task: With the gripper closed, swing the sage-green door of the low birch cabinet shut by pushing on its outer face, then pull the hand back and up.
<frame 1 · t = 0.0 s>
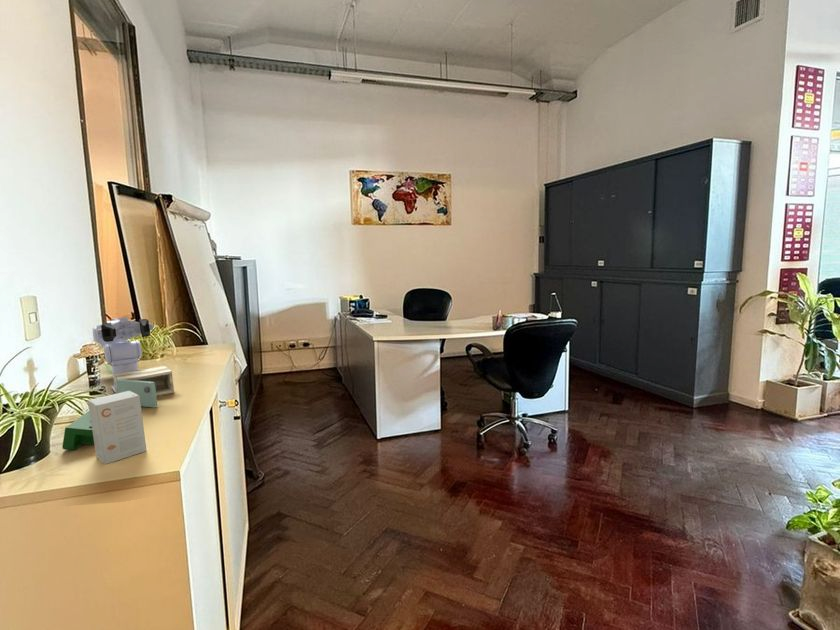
hand: (130, 330, 131), 22 cm above the table, tool horizontal, fingers open, 7 cm apart
cabinet: (145, 394, 141), on the table
small box: (121, 455, 97), on the table
door: (135, 393, 129), point 4 cm above the table, hinge at -60.0°
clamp: (92, 442, 105), on the table
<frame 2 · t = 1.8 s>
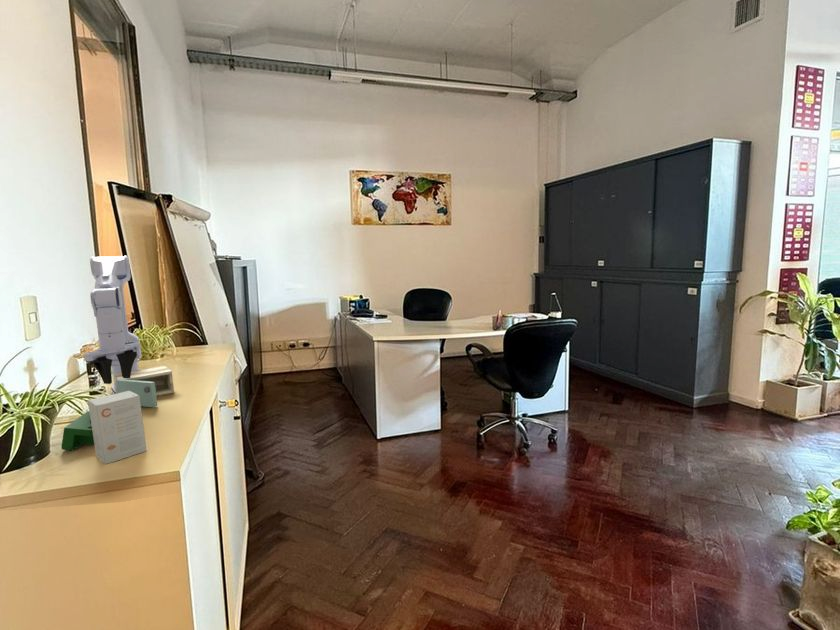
hand: (117, 380, 122), 9 cm above the table, tool pointing down, fingers open, 5 cm apart
nothing on the table moved.
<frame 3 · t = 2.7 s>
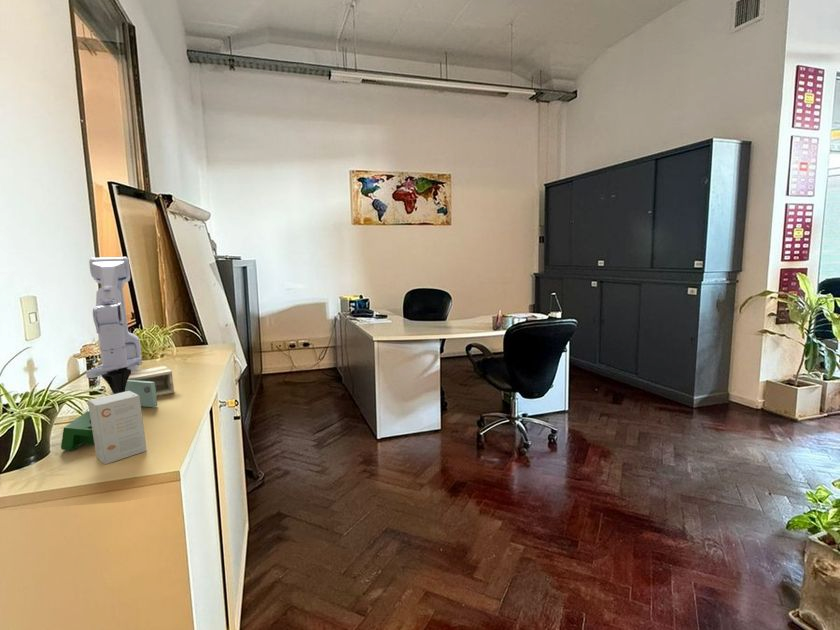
hand: (119, 396, 123), 5 cm above the table, tool pointing down, fingers closed
nothing on the table moved.
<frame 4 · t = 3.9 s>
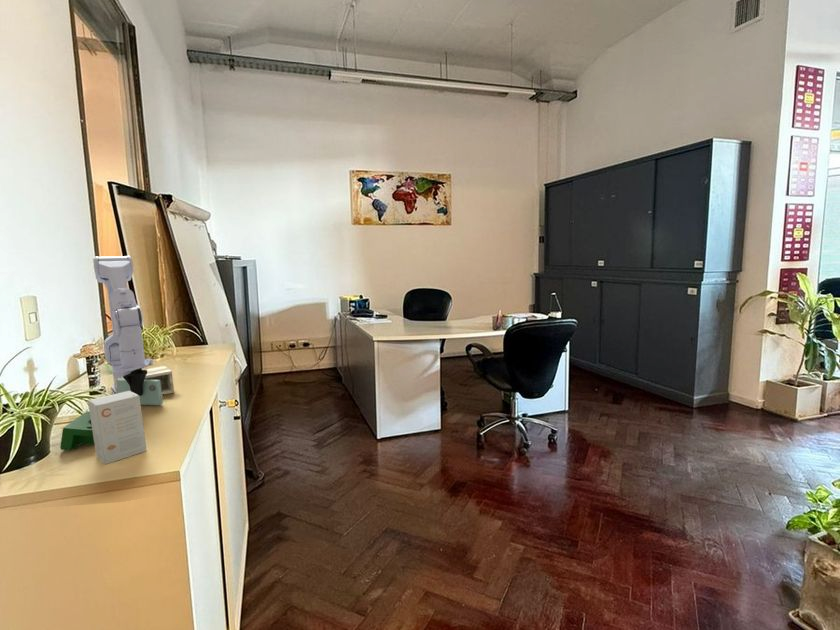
hand: (137, 395, 128), 3 cm above the table, tool pointing down, fingers closed
door: (138, 392, 130), point 4 cm above the table, hinge at -51.9°, touching gripper
everything else where it was.
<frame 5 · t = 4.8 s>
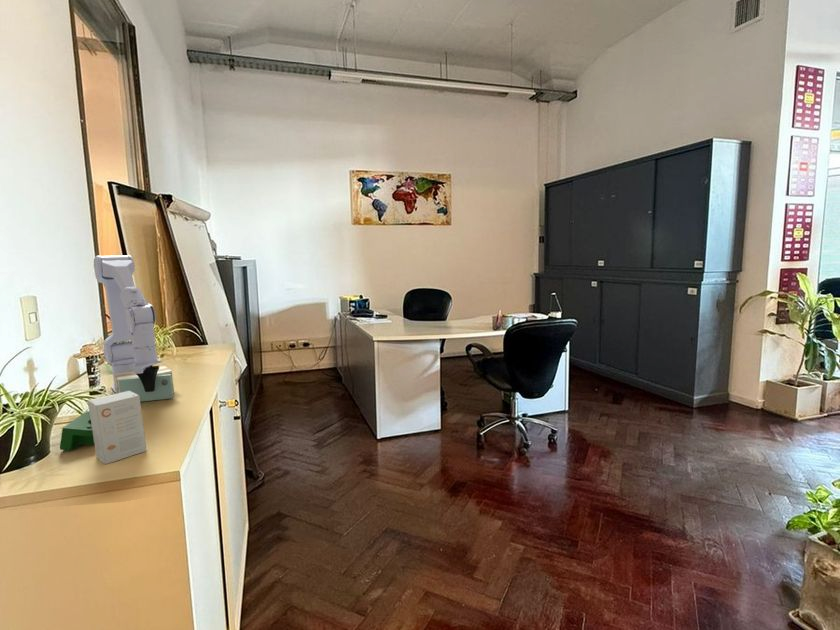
hand: (150, 391, 132), 3 cm above the table, tool pointing down, fingers closed
door: (146, 388, 133), point 4 cm above the table, hinge at -26.0°, touching gripper
everything else where it was.
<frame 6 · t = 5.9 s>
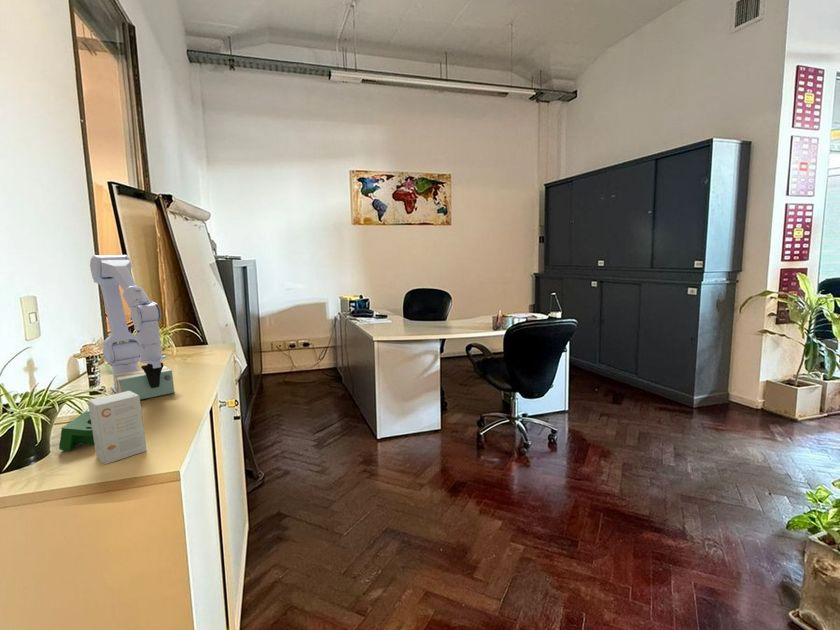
hand: (154, 387, 136), 3 cm above the table, tool pointing down, fingers closed
door: (148, 386, 136), point 4 cm above the table, hinge at 1.0°, touching gripper
everything else where it was.
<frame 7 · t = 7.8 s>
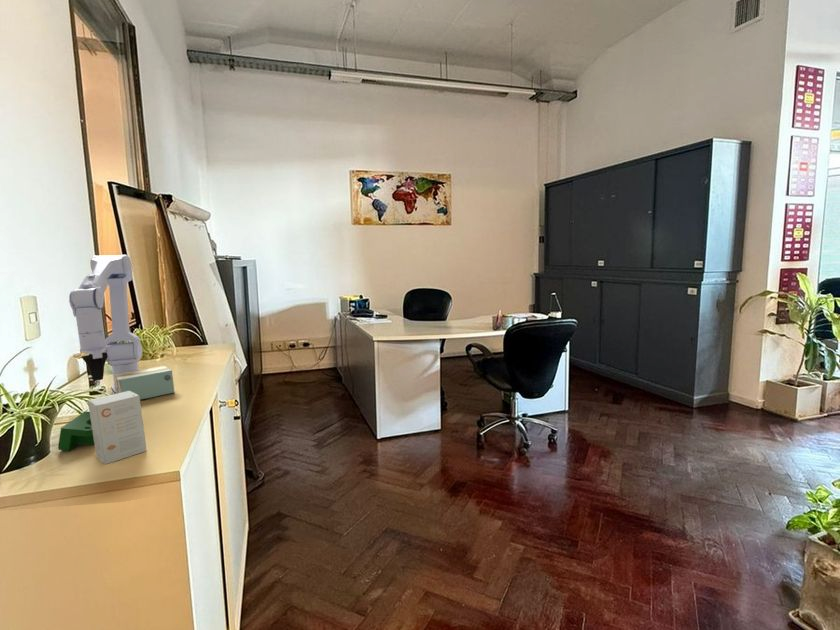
hand: (98, 379, 124), 9 cm above the table, tool pointing down, fingers closed
door: (148, 386, 136), point 4 cm above the table, hinge at 1.0°
everything else where it was.
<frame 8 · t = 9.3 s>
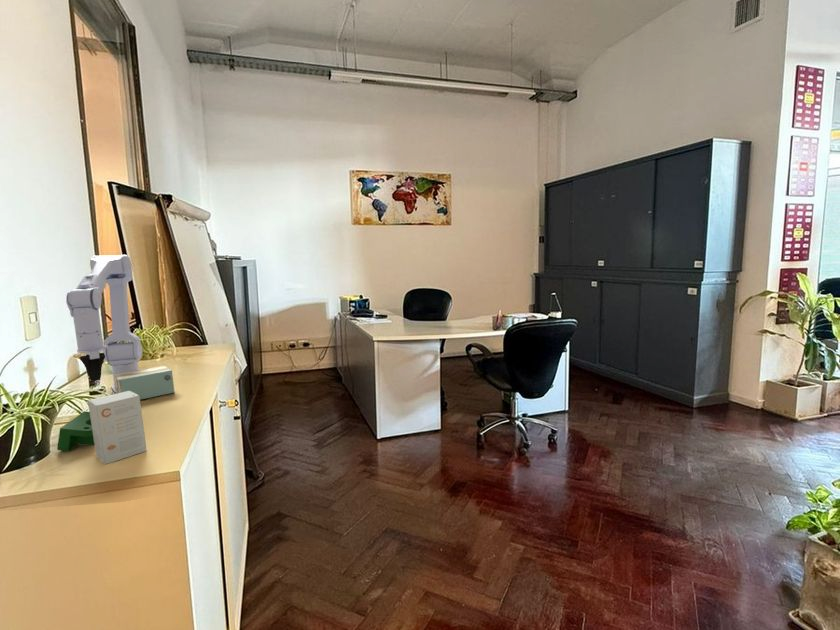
hand: (95, 380, 124), 9 cm above the table, tool pointing down, fingers closed
nothing on the table moved.
at the end: door at +1° (first picture: -60°) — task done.
